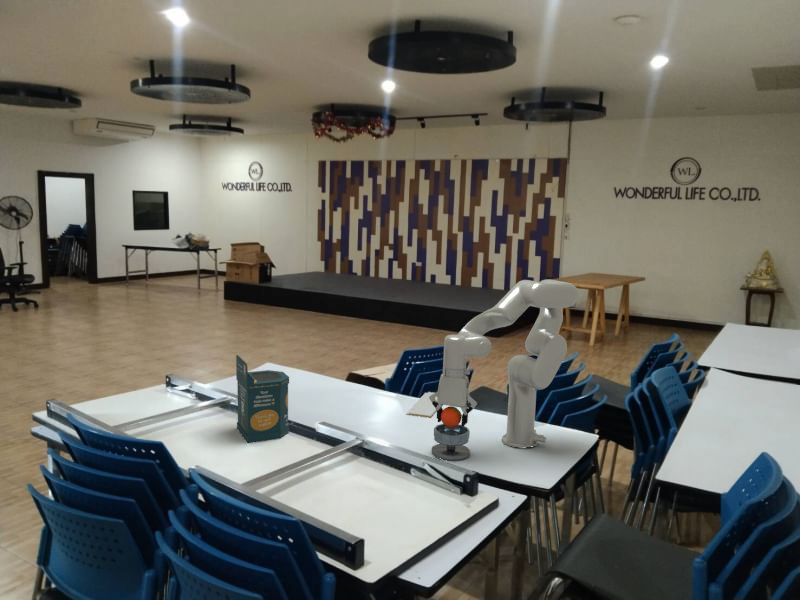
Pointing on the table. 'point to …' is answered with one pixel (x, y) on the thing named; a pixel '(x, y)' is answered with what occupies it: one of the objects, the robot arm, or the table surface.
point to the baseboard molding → (423, 406)
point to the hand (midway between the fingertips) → (451, 422)
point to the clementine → (451, 416)
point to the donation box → (261, 403)
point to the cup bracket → (451, 442)
